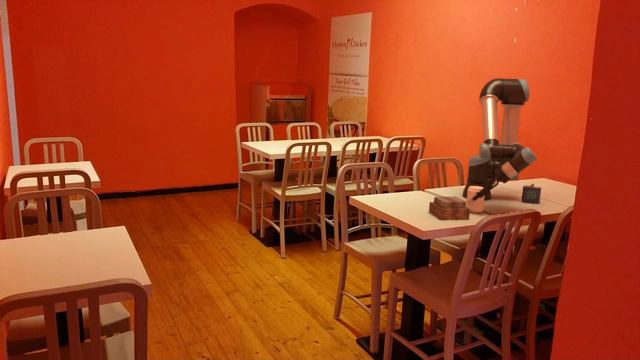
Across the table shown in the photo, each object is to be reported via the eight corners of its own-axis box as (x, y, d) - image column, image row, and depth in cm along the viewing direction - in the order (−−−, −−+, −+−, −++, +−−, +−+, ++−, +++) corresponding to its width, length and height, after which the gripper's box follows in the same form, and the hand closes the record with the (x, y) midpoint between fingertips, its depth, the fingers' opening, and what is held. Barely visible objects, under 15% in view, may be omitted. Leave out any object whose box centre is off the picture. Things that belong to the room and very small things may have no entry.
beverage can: (463, 208, 262) (465, 185, 260) (479, 209, 263) (481, 185, 260) (469, 213, 254) (471, 189, 252) (485, 213, 255) (487, 189, 252)
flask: (539, 203, 280) (541, 183, 278) (539, 204, 277) (542, 184, 275) (520, 201, 282) (523, 182, 280) (521, 202, 280) (523, 183, 277)
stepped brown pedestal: (455, 211, 256) (457, 195, 255) (469, 219, 243) (470, 202, 241) (428, 212, 254) (430, 196, 252) (441, 220, 240) (442, 203, 238)
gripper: (511, 182, 240) (472, 212, 249) (510, 175, 260) (474, 202, 268) (500, 170, 241) (461, 200, 249) (500, 163, 260) (464, 191, 268)
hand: (468, 201), depth 258 cm, fingers closed on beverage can, 8 cm apart
